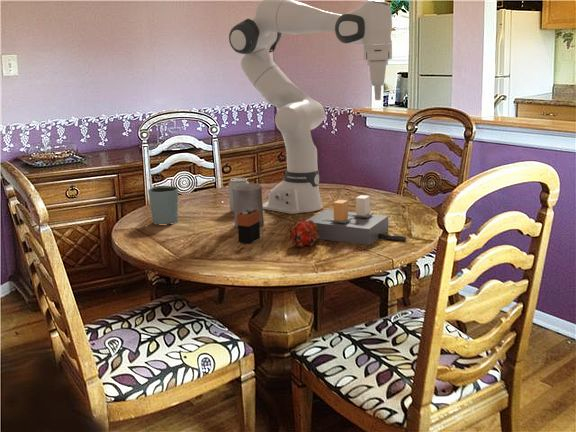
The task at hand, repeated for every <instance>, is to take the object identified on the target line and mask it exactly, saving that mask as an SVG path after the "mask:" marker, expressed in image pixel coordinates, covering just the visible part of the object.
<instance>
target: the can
mask: <svg viewBox="0 0 576 432" xmlns="http://www.w3.org/2000/svg"><path fill="white" fill-rule="evenodd" d="M247 182H248V183H250V182H249V181H248V178H246V177H233V178H231V179H230V180H229V183H228V196H229V197H228V198H229V200H228V201H229V210H230V211H231V212H232V211H233V212H232V213H234V201H233V186H235V185H238V184H245V183H247Z"/></svg>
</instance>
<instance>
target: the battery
mask: <svg viewBox="0 0 576 432" xmlns="http://www.w3.org/2000/svg"><path fill="white" fill-rule="evenodd" d="M237 224H238V228H237V236H238V237H237V238H238V243H241V244H247V245H251V244H252V243H253V242H256V241H258V240H259V239H260V238H261V227H260V222H259V211H258V210H254V208H248V210H246V211H242V213H239V214H238V215H237Z"/></svg>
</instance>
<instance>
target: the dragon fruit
mask: <svg viewBox="0 0 576 432" xmlns="http://www.w3.org/2000/svg"><path fill="white" fill-rule="evenodd" d="M300 220H301V221H297V222H295V223H294V224H293V226H292V227H291V228H290V231H289V239H290V240H291V241H292V242H293V244H295V248H297V249H298V248H303V247H304V246H305V245H307V246H308V247H312V246H313V245H314V244H315V241H316V240H319V239H318V238H319V237H320V235H318V234H317V233H318V232H319V229H318V226H317V224H316V223H314V222H313V221H312V220H308V221H305V219H304V218H301V219H300Z"/></svg>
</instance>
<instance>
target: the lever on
mask: <svg viewBox="0 0 576 432" xmlns="http://www.w3.org/2000/svg"><path fill="white" fill-rule="evenodd" d="M370 197H371V196H370V195H364V194H363V195H362V194H360V195H359V196H357V197H355V212H356V213H355V214H353V217H363V218H368V217H370V216H371V215H373V214H374V212H371V210H370V209H371V203H370V202H371V200H370V199H371V198H370Z"/></svg>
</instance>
